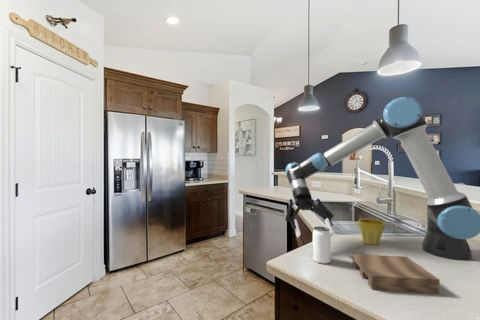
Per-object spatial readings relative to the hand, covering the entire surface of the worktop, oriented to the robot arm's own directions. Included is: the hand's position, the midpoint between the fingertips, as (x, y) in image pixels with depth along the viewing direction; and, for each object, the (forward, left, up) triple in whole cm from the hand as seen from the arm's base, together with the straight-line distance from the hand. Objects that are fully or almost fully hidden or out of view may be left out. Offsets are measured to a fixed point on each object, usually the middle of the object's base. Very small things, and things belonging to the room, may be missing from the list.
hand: (315, 235), depth 92 cm
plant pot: (-29, -20, -9) cm, 36 cm away
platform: (-21, +14, -8) cm, 26 cm away
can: (-2, +3, -9) cm, 9 cm away
